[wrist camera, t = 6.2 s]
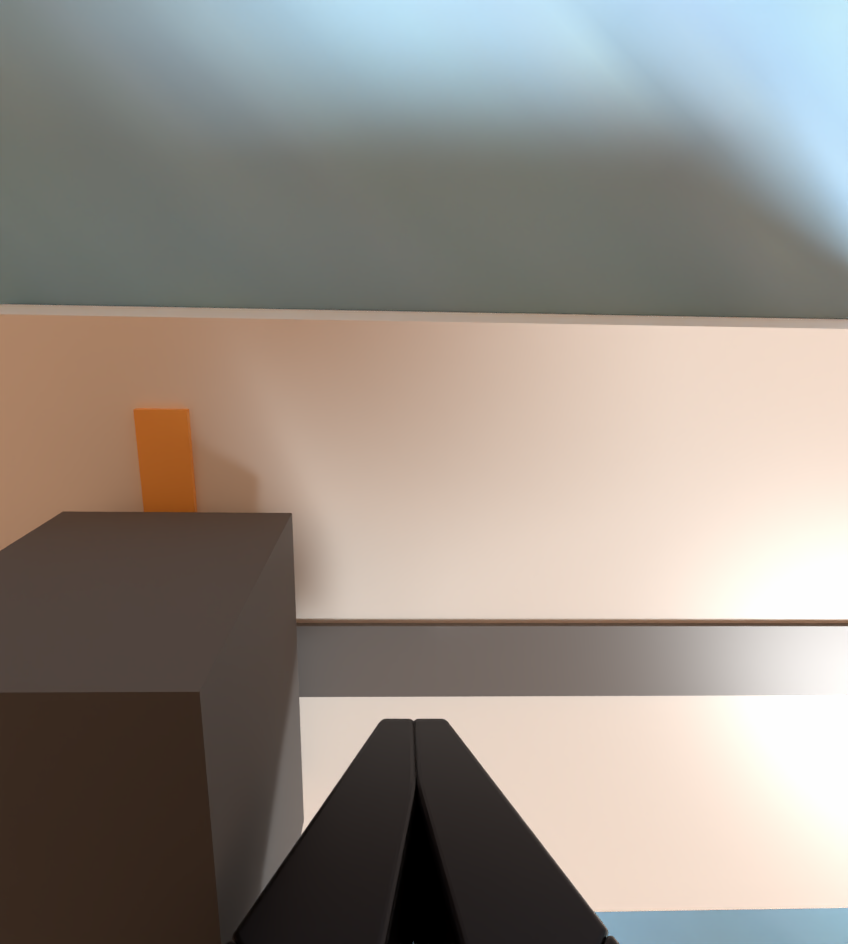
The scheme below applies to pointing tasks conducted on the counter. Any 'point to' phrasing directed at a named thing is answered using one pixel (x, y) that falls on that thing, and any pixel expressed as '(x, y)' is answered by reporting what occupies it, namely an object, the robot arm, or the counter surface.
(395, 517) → the board
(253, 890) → the fader tab
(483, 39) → the counter surface
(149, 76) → the counter surface
